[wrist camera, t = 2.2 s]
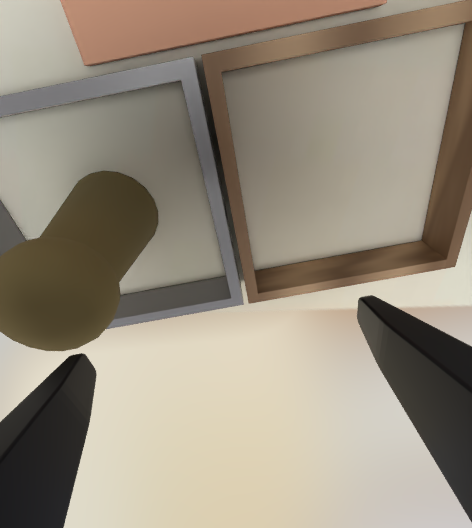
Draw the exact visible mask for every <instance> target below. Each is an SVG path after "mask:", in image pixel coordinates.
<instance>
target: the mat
mask: <svg viewBox="0 0 472 528" xmlns="http://www.w3.org/2000/svg"><path fill="white" fill-rule="evenodd" d="M60 1H61V4H62V6H63V9H64V12H65V14H66V17H67V20H68V22H69V25H70V28H71V30H72V33H73V36H74V38H75V41H76V44H77V46H78V49H79V52H80V54H81V57H82V60H83V62H84V65H85V66H93V65H98V64H103V63H107V62H112V61H117V60H122V59H127V58H132V57H136V56H141V55H146V54H151V53H156V52H160V51H165V50H170V49H175V48H180V47H185V46H189V45H194V44H199V43H204V42H209V41H214V40H218V39H223V38H228V37H233V36H238V35H242V34H247V33H252V32H257V31H262V30H267V29H271V28H276V27H281V26H286V25H291V24H296V23H300V22H305V21H310V20H315V19H320V18H324V17H329V16H334V15H339V14H344V13H349V12H353V11H358V10H363V9H368V8H373V7H378V6H381V5H383V4H385V3H387V0H60Z"/></svg>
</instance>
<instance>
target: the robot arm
mask: <svg viewBox="0 0 472 528" xmlns="http://www.w3.org/2000/svg"><path fill="white" fill-rule="evenodd" d="M357 319H358V323H359V325H360V327H361V329H362V332H363V334H364V336H365V338H366V340H367V343H368V345H369V347H370V349H371V351H372V353H373V356H374V358H375V360H376V362H377V364H378V366H379V368H380V370H381V371H382V373H383V375H384V377H385V378H386V380H387V382H388V383H389V385H390V387H391V388H392V390H393V392H394V393H395V395H396V396H397V398H398V400H399V402H400V403H401V405H402V407H403V408H404V410H405V412H406V413H407V415H408V417H409V418H410V420H411V421H412V423H413V425H414V426H415V428H416V430H417V432H418V433H419V435H420V437H421V438H422V440H423V442H424V443H425V445H426V447H427V448H428V450H429V452H430V453H431V455H432V457H433V458H434V460H435V462H436V464H437V465H438V467H439V468H440V470H441V472H442V474H443V475H444V477H445V479H446V480H447V482H448V484H449V485H450V487H451V489H452V490H453V492H454V494H455V495H456V497H457V498H458V500H459V502H460V504H461V505H462V507H463V509H464V510H465V512H466V513H467V515H468V517H469V519H470V520H471V522H472V347H471V346H470V345H468V344H466V343H464V342H462V341H460V340H458V339H456V338H454V337H452V336H450V335H448V334H446V333H445V332H443V331H440V330H438V329H437V328H435V327H433V326H431V325H429V324H427V323H425V322H423V321H421V320H419V319H417V318H416V317H413V316H412V315H410V314H408V313H406V312H404V311H402V310H400V309H398V308H396V307H394V306H392V305H390V304H388V303H387V302H385V301H383V300H381V299H379V298H377V297H375V296H372V295H370V296H365V297H361V298H359V300H358V312H357ZM95 382H96V370H95V368H94V366H93V365H92V364H91V362H90V361H89V359H88V358H87V356H86V355H85V354H82V353H81V354H76V355H72V356H69V357H68V358H67V359H66V360H65V361H64V362H63V363H62V364H61V365H60V366H59V367H58V368H57V369H56V370H54V371H53V372H52V373H51V374H50V375H49V376H48V377H47V378H46V379H45V380H44V381H43V382H42V383H41V384H40V385H39V386H38V387H37V388H36V389H35V390H34V391H32V392H31V393H30V394H29V395H28V396H27V397H26V398H25V399H24V400H23V401H22V402H21V403H20V404H19V405H18V406H17V407H16V408H15V409H14V410H13V411H11V412H10V413H9V415H7V416H6V417H5V418H4V419H3V420H2V421H1V422H0V528H63V527H64V523H65V519H66V515H67V511H68V507H69V503H70V499H71V495H72V491H73V487H74V483H75V479H76V475H77V471H78V467H79V463H80V459H81V455H82V451H83V447H84V443H85V439H86V435H87V431H88V427H89V422H90V416H91V410H92V403H93V396H94V389H95Z"/></svg>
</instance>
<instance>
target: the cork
mask: <svg viewBox="0 0 472 528" xmlns="http://www.w3.org/2000/svg"><path fill="white" fill-rule="evenodd" d="M157 225H158V210H157V207H156V205H155V202H154V199H153V198H152V196H151V195H150V194H149V192H148V191H147V190H146V188H145V187H144V186H142V185H141V184H140V183H138V182H137V181H136V180H134V179H133V178H131V177H128V176H126V175H123V174H121V173H118V172H109V171H101V172H96V173H92V174H89V175H87V176H86V177H84V178H83V179H81V180H80V181H78V183H77V184H76V186H75V187H74V189H73V190H72V191H71V193H70V194H69V196H68V197H67V199H66V200H65V202H64V203H63V204H62V206H61V207H60V209H59V210H58V212H57V213H56V215H55V216H54V217H53V219H52V220H51V222H50V223H49V225H48V226H47V228H46V229H45V230H44V232H43V233H42V235H41V236H40V238H36V239H31V240H28V241H25V242H22V243H19V244H18V245H16V246H14V247H13V248H11V249H10V250H8V251H7V252H5V253H4V254H2V255H1V256H0V332H2V333H3V334H5V335H6V336H7V337H9V338H10V339H12V340H14V341H16V342H18V343H21V344H23V345H26V346H28V347H31V348H36V349H41V350H45V351H66V350H71V349H76V348H79V347H80V346H83V345H85V344H87V343H89V342H90V341H92V340H94V339H96V338H98V337H99V336H100V335H101V333H102V332H103V331H104V330H105V329H106V328H107V327H108V326H109V325H110V323H111V322H112V321H113V319H114V316H115V314H116V311H117V308H118V305H119V301H120V287H119V282H120V280H121V279H122V278H123V276H124V275H125V273H126V272H127V271H128V269H129V268H130V267H131V265H132V264H133V263H134V261H135V260H136V259H137V257H138V256H139V254H140V253H141V252H142V250H143V249H144V248H145V246H146V245H147V244H148V242H149V241H150V239H151V238H152V237H153V235H154V234H155V231H156V228H157Z"/></svg>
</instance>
